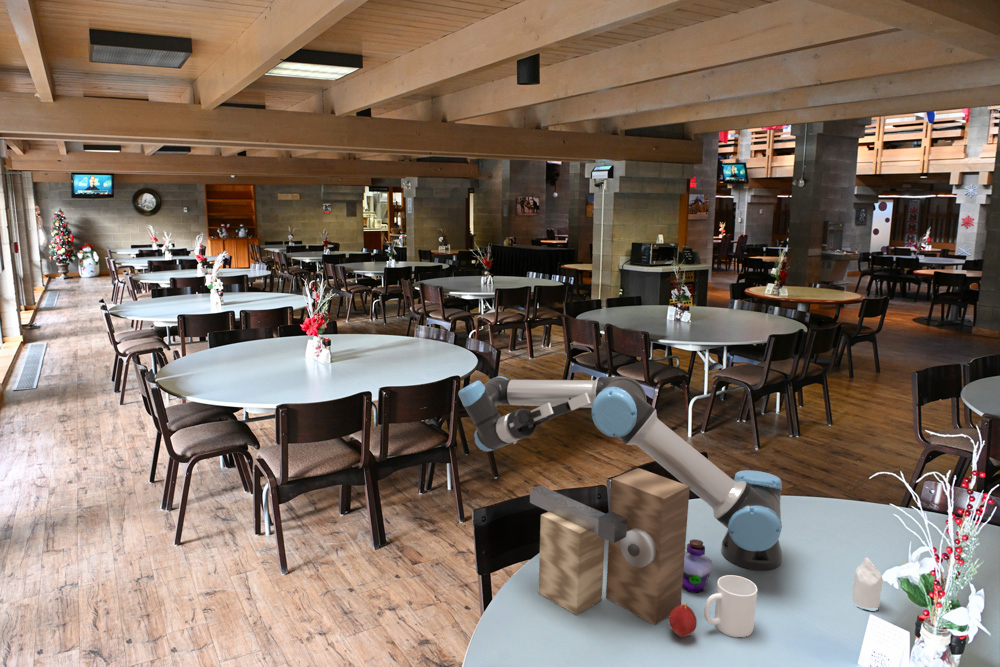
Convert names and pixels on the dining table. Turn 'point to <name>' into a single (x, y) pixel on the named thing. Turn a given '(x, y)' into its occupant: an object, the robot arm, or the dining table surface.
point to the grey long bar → (580, 514)
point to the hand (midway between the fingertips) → (569, 402)
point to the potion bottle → (696, 567)
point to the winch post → (648, 544)
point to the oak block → (570, 564)
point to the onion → (682, 620)
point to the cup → (733, 606)
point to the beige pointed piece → (867, 585)
